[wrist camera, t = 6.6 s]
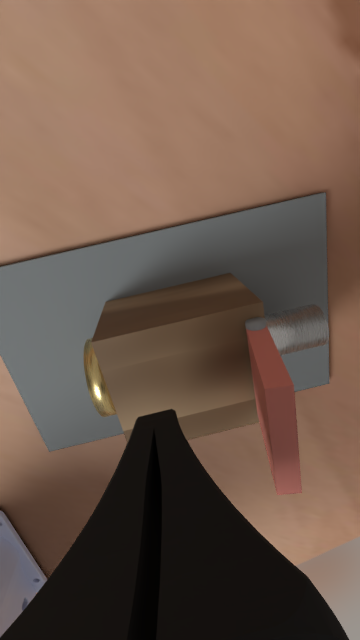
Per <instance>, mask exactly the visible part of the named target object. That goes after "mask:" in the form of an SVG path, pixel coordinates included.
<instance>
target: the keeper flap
mask: <svg viewBox="0 0 360 640" xmlns="http://www.w3.org/2000/svg"><path fill="white" fill-rule="evenodd" d="M245 326H246V333H247V340H248V348H249V355H250V362H251V370H252V377H253V385H254V392H255V399H256V407H257V414H258V418H259V422H260V426H261V430H262V434H263V438H264V442H265V446H266V451H267V455H268V459H269V463H270V467H271V471H272V475H273V479H274V483H275V487H276V491H277V495H282V494H294V493H302V488H301V475H300V461H299V448H298V434H297V420H296V407H295V393H294V384H293V382H292V380H291V378H290V376H289V373H288V371H287V369H286V367H285V365H284V362H283V360H282V358H281V356H280V354H279V351H278V349H277V347H276V345H275V343H274V341H273V338H272V336H271V334H270V332H269V330H268V327H267V325H266V320H265V319H264V318H261V317H256V318H252V319H248V320H246V321H245Z"/></svg>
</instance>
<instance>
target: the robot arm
mask: <svg viewBox="0 0 360 640" xmlns="http://www.w3.org/2000/svg"><path fill="white" fill-rule="evenodd" d="M36 592H38V593H37V594H36ZM0 640H349V639H348V637H347V635H346V633H345V631H344V630H343V628H342V626H341V624H340V622H339V621H338V620H337V618H336V616H335V615H334V613H333V611H332V610H331V609H330V607H329V606H328V604H327V603H326V601H325V600H324V598H323V597H322V596H321V594H320V593H319V592H318V590H317V589H316V587H315V586H314V585H313V583H312V582H311V581H310V579H309V578H308V577H307V576H306V575H305V574H304V573H303V572H302V571H300V570H299V569H298V568H297V567H296V566H295V565H293V564H292V563H291V562H290V561H289V560H288V559H287V558H286V557H284V556H283V555H282V554H281V553H280V552H279V551H278V550H277V549H276V548H275V547H274V546H273V545H271V544H270V543H269V542H268V541H267V540H266V539H265V538H264V537H263V536H262V535H261V534H260V533H259V532H258V531H257V530H256V529H255V528H254V527H253V526H252V525H251V524H250V523H249V522H248V520H247V519H246V518H245V517H244V516H243V515H242V514H241V513H240V512H239V511H238V510H237V509H236V508H235V507H234V505H233V504H232V503H231V502H230V501H229V500H228V498H227V497H226V496H225V495H224V494H223V492H222V491H221V490H220V489H219V487H218V486H217V485H216V484H215V482H214V481H213V480H212V478H211V477H210V476H209V474H208V473H207V472H206V470H205V469H204V467H203V466H202V464H201V463H200V461H199V460H198V458H197V457H196V455H195V454H194V452H193V450H192V448H191V447H190V445H189V443H188V442H187V440H186V438H185V436H184V434H183V432H182V430H181V427H180V425H179V422H178V418H177V414H176V411H175V410H173V409H169V410H165V411H161V412H157V413H152V414H148V415H144V416H140V417H138V418H137V419H136V421H135V424H134V427H133V430H132V433H131V436H130V438H129V441H128V443H127V446H126V448H125V450H124V453H123V455H122V457H121V460H120V462H119V464H118V466H117V468H116V471H115V473H114V475H113V477H112V479H111V481H110V483H109V485H108V487H107V488H106V490H105V492H104V494H103V496H102V498H101V500H100V502H99V503H98V505H97V507H96V509H95V510H94V512H93V514H92V515H91V517H90V519H89V520H88V522H87V524H86V525H85V527H84V528H83V530H82V531H81V533H80V534H79V536H78V537H77V539H76V540H75V542H74V544H73V545H72V547H71V548H70V550H69V551H68V552H67V554H66V555H65V557H64V558H63V560H62V561H61V562H60V564H59V565H58V566H57V568H56V569H55V570H54V572H53V573H52V574H51V576H50V577H49V578H48V580H47V578H46V577H45V575H44V574H43V572H42V571H41V569H40V567H39V566H38V564H37V563H36V561H35V560H34V558H33V557H32V555H31V554H30V552H29V551H28V549H27V548H26V546H25V544H24V543H23V541H22V540H21V538H20V537H19V535H18V534H17V532H16V531H15V529H14V528H13V526H12V525H11V523H10V521H9V520H8V518H7V517H6V515H5V514H4V513H3V512H2V511H1V510H0Z"/></svg>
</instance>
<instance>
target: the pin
mask: <svg viewBox="0 0 360 640" xmlns="http://www.w3.org/2000/svg"><path fill="white" fill-rule="evenodd" d="M264 317H265V320H266V325H267V327H268V330H269V332H270V334H271V336H272V338H273V341H274V343H275V345H276V347H277V349H278V351H279V354H280V356H281V355H285V354H290V353H294V352H298V351H302V350H306V349H310V348H314V347H319V346H323V345H326V344H327V342H328V339H329V327H328V323H327V320H326V317H325V315H324V313H323V311H322V310H321V309H320V307H319V306H317V305H316V304H309V305H305V306H300V307H296V308H292V309H288V310H283V311H279V312H275V313H271V314H267V315H264ZM91 341H92V338H89V339H87V340H86V342H85V346H84V371H85V377H86V382H87V387H88V390H89V394H90V397H91V400H92V402H93V404H94V407H95V409H96V410H97V412H98V413H99V414H100V415H101V416H102V417H108V416H112V415H116V414H117V413H116V410H115V407H114V404H113V402H112V399H111V396H110V393H109V391H108V388H107V385H106V382H105V380H104V377H103V374H102V371H101V369H100V366H99V363H98V360H97V358H96V355H95V352H94V349H93V347H92V344H91Z"/></svg>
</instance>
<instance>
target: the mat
mask: <svg viewBox="0 0 360 640" xmlns="http://www.w3.org/2000/svg"><path fill="white" fill-rule="evenodd" d="M227 273H231V274H232V275H234V276H235V277H236V278H237V279H238V280H239V281H240V282H241V283H242V284H244V285H245V286H246V287H247V288H248V289H249V290H250V291H251V292H252V293H254V294H255V295H256V296H257V297H258V298H259V299H260V300H261V301H263V307H264V315H267V314H271V313H275V312H279V311H283V310H288V309H292V308H296V307H300V306H305V305H309V304H316V305H317V306H319V307H320V309H321V310H322V311H323V313H324V315H325V317H326V320H327V323H328V282H327V228H326V193H318V194H313V195H309V196H305V197H300V198H296V199H292V200H287V201H283V202H279V203H274V204H270V205H265V206H261V207H257V208H252V209H248V210H244V211H239V212H235V213H231V214H226V215H222V216H218V217H213V218H209V219H205V220H200V221H196V222H192V223H187V224H183V225H178V226H174V227H170V228H165V229H161V230H157V231H152V232H148V233H144V234H139V235H135V236H131V237H126V238H122V239H118V240H113V241H109V242H104V243H100V244H96V245H91V246H87V247H83V248H78V249H74V250H70V251H65V252H61V253H57V254H52V255H48V256H44V257H39V258H35V259H30V260H26V261H22V262H17V263H13V264H9V265H4V266H0V355H1V357H2V359H3V361H4V363H5V365H6V367H7V369H8V371H9V373H10V375H11V377H12V379H13V381H14V383H15V385H16V387H17V389H18V391H19V393H20V395H21V397H22V399H23V401H24V403H25V405H26V407H27V409H28V411H29V413H30V415H31V417H32V419H33V421H34V423H35V424H36V426H37V428H38V430H39V432H40V434H41V436H42V438H43V440H44V442H45V444H46V446H47V448H48V450H49V452H50V451H54V450H58V449H62V448H66V447H71V446H75V445H79V444H83V443H87V442H91V441H95V440H99V439H103V438H107V437H112V436H116V435H120V434H124V432H123V429H122V426H121V424H120V421H119V418H118V415H117V414H116V415H112V416H108V417H102V416H101V415H100V414H99V413H98V412H97V410H96V409H95V407H94V404H93V402H92V400H91V397H90V394H89V390H88V387H87V382H86V377H85V371H84V346H85V342H86V340H87V339H89V338H93V336H94V333H95V330H96V327H97V324H98V322H99V319H100V316H101V313H102V310H103V308H104V305H105V302H107V301H111V300H116V299H120V298H124V297H129V296H133V295H137V294H141V293H146V292H150V291H154V290H159V289H163V288H167V287H171V286H176V285H180V284H184V283H188V282H193V281H197V280H201V279H206V278H210V277H214V276H218V275H223V274H227ZM281 358H282V360H283V362H284V365H285V367H286V369H287V371H288V373H289V376H290V378H291V380H292V382H293V384H294V392H296V391H300V390H304V389H309V388H313V387H317V386H321V385H325V384H329V339H328V342H327V344H326V345H323V346H319V347H314V348H310V349H306V350H302V351H298V352H294V353H290V354H285V355H281Z"/></svg>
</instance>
